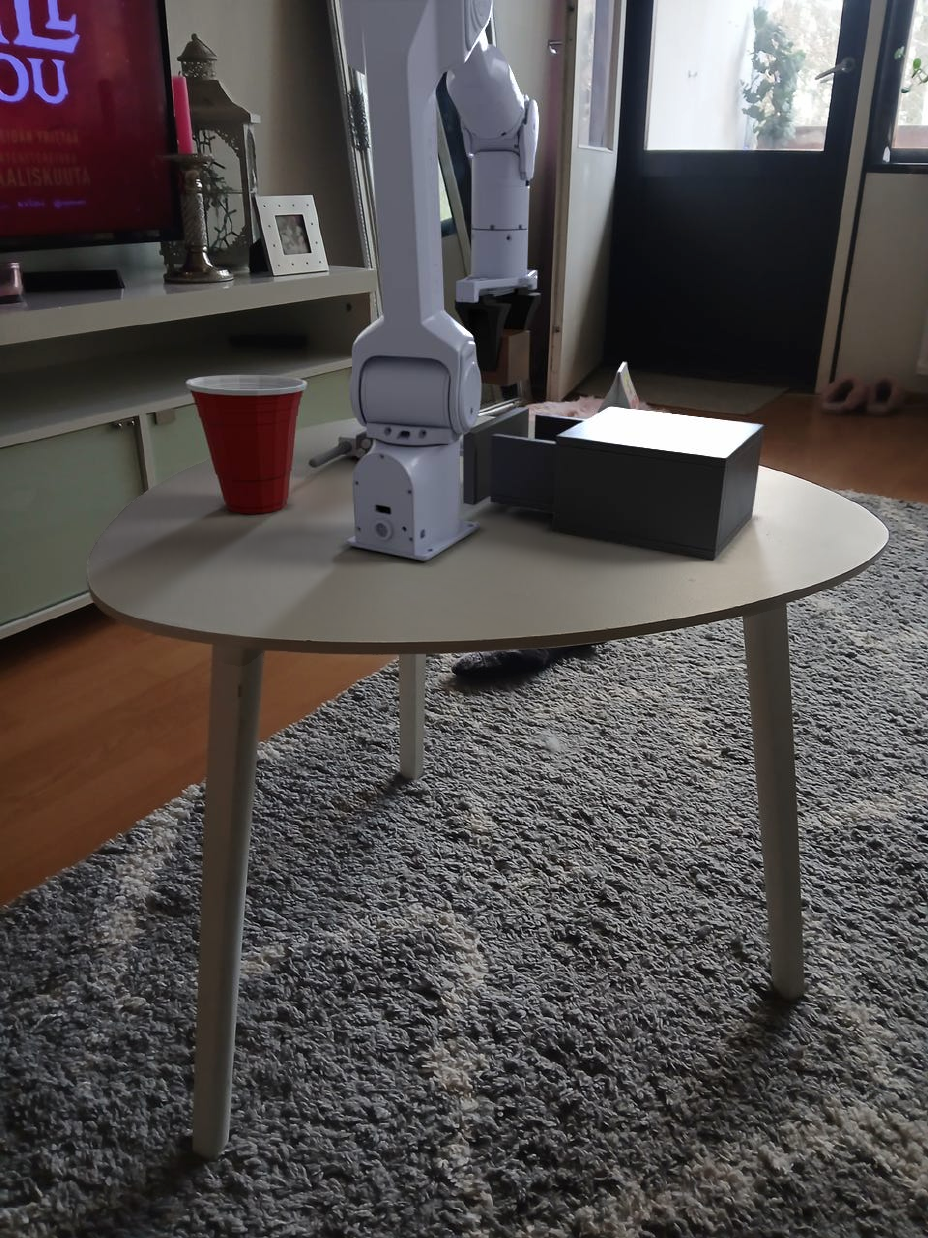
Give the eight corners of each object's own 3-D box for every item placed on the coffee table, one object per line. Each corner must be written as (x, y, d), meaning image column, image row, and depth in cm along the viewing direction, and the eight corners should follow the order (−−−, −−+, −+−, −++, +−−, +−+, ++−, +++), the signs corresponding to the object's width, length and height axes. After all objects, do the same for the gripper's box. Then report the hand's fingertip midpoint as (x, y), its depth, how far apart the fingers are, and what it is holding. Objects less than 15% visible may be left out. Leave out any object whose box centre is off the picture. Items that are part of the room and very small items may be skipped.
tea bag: (594, 465, 105) (600, 371, 101) (602, 449, 111) (607, 360, 107) (628, 467, 104) (635, 373, 100) (634, 451, 110) (641, 362, 106)
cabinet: (551, 531, 86) (555, 435, 82) (604, 493, 96) (609, 406, 92) (714, 560, 79) (726, 458, 76) (752, 516, 89) (764, 424, 86)
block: (507, 386, 100) (508, 336, 98) (465, 381, 103) (465, 333, 101) (528, 378, 104) (529, 330, 102) (487, 373, 107) (488, 326, 105)
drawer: (424, 496, 92) (423, 425, 89) (480, 467, 101) (481, 402, 98) (598, 527, 84) (603, 450, 81) (642, 492, 93) (648, 422, 90)
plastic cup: (336, 495, 95) (329, 371, 90) (273, 529, 86) (262, 393, 81) (245, 482, 99) (233, 363, 94) (176, 513, 90) (159, 383, 85)
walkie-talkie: (386, 432, 118) (302, 475, 101) (385, 395, 116) (300, 434, 99) (452, 439, 115) (378, 485, 98) (452, 402, 113) (377, 442, 96)
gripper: (502, 233, 90) (500, 381, 95) (565, 226, 101) (559, 359, 107) (437, 231, 93) (438, 374, 98) (504, 225, 104) (502, 354, 110)
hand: (497, 366), depth 103 cm, fingers closed on block, 5 cm apart
